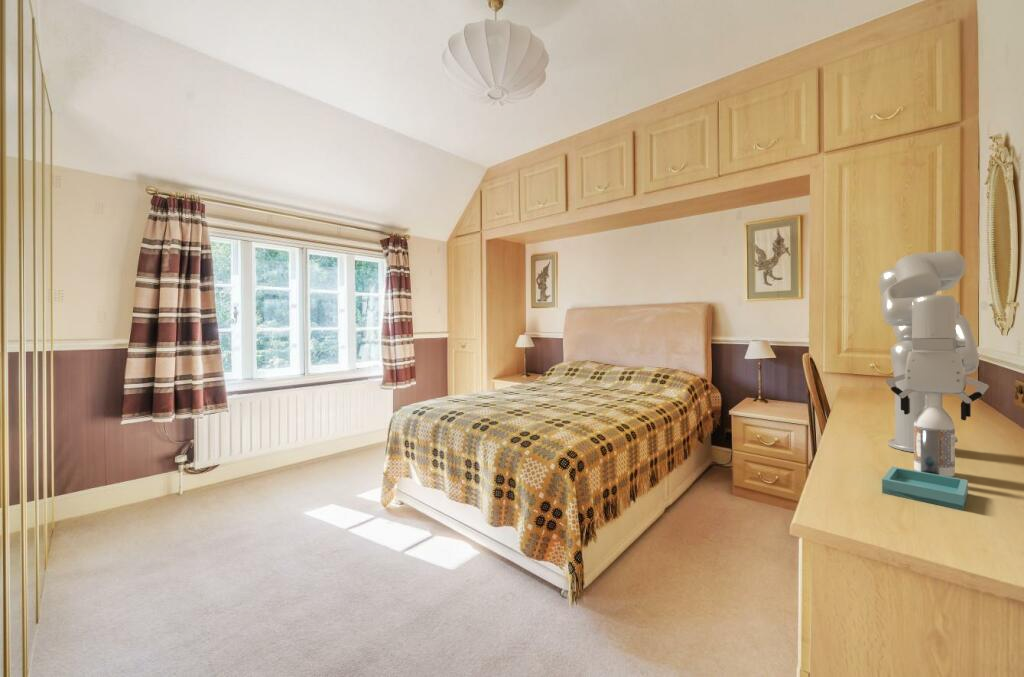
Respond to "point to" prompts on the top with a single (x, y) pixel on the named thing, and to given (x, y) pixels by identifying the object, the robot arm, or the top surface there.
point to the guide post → (930, 451)
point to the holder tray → (926, 487)
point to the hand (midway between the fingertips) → (934, 416)
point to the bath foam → (941, 421)
